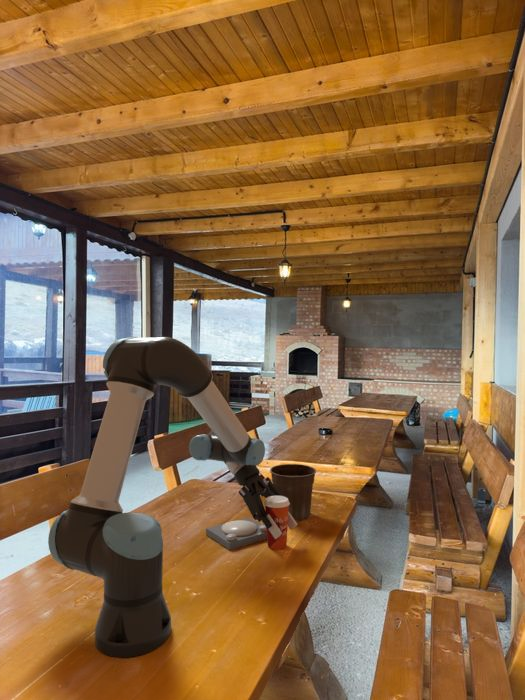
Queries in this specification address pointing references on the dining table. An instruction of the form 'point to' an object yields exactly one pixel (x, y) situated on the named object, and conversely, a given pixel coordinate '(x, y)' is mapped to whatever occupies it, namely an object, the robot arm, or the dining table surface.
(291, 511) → the plant pot
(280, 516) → the paper cup
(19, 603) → the dining table surface
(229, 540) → the grey flat block
